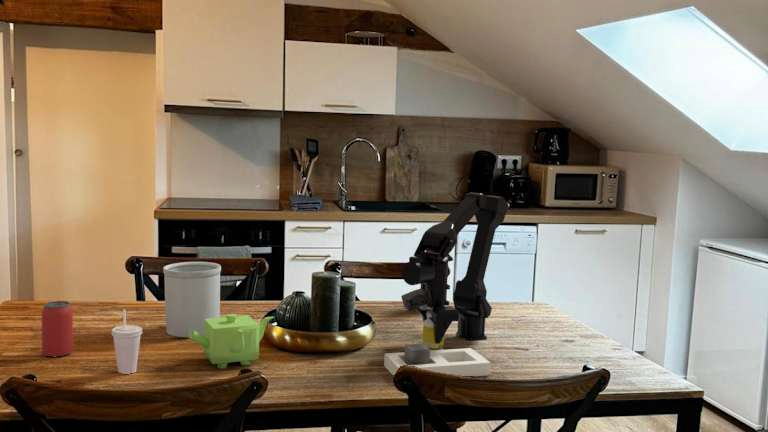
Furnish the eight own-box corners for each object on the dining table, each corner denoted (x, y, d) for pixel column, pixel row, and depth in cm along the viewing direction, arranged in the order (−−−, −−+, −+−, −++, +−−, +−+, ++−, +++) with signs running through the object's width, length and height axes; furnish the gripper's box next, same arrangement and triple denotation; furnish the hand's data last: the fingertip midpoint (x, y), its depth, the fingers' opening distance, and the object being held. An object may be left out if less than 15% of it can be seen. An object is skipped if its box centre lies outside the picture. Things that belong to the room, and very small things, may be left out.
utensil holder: (151, 333, 181) (150, 267, 179) (187, 320, 195) (187, 259, 193) (197, 341, 176) (198, 274, 174) (231, 327, 190) (232, 264, 188)
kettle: (273, 356, 167) (274, 311, 165) (246, 375, 153) (247, 326, 152) (218, 349, 171) (218, 304, 169) (186, 367, 157) (186, 319, 156)
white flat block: (469, 360, 170) (470, 348, 169) (489, 375, 159) (490, 362, 159) (384, 365, 163) (384, 353, 163) (399, 382, 153) (399, 369, 152)
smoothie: (116, 366, 156) (116, 305, 154) (145, 367, 156) (145, 306, 154) (107, 376, 149) (107, 313, 148) (138, 377, 150) (138, 313, 148)
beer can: (79, 351, 165) (78, 302, 164) (58, 359, 159) (57, 308, 157) (57, 348, 167) (56, 299, 166) (35, 355, 161) (34, 305, 159)
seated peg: (422, 368, 162) (423, 343, 162) (428, 374, 158) (430, 349, 158) (403, 369, 161) (404, 344, 160) (410, 376, 157) (411, 350, 156)
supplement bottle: (441, 353, 174) (443, 315, 173) (420, 351, 175) (422, 313, 174) (444, 347, 179) (446, 310, 178) (423, 345, 180) (425, 308, 179)
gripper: (393, 273, 181) (391, 331, 183) (419, 289, 164) (416, 353, 165) (433, 272, 185) (430, 329, 186) (462, 287, 167) (459, 350, 169)
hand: (433, 340), depth 177 cm, fingers closed on supplement bottle, 5 cm apart
